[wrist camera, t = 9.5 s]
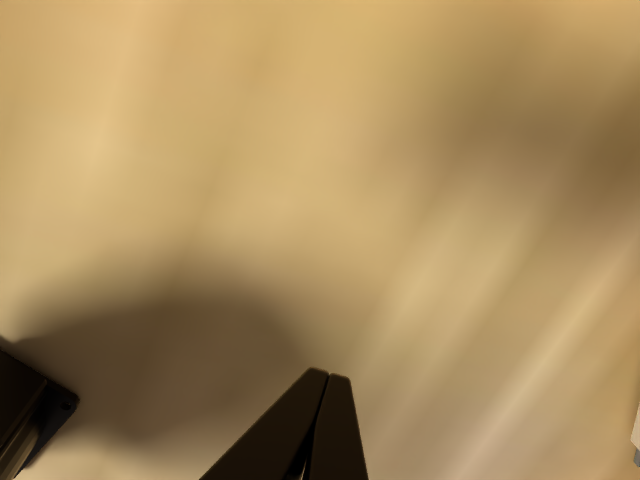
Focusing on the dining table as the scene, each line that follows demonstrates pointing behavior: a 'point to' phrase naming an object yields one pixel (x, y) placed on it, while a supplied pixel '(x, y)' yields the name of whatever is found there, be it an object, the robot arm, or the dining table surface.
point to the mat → (637, 458)
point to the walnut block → (636, 431)
